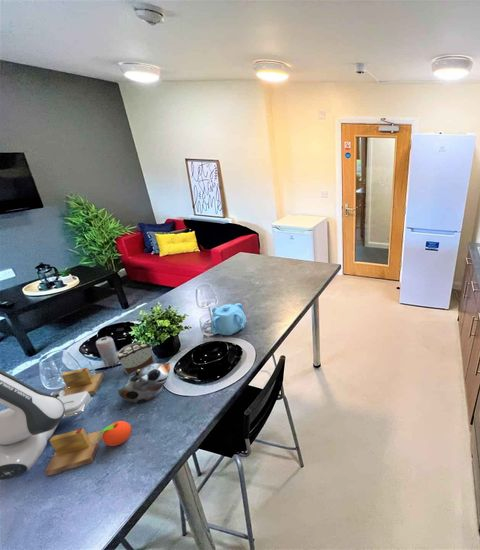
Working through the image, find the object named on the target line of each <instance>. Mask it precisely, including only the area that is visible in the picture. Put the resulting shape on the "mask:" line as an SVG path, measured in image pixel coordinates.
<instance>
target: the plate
mask: <svg viewBox="0 0 480 550" xmlns="http://www.w3.org/2000/svg"><path fill="white" fill-rule="evenodd" d="M91 376H92V378H93V380H94V381H93V383H92V384H88V385H84V386H79V387H75V388H70V389H68V388H67V386H66V385H65V386H64V387H63V388H61V390H64V392H65V394H64V396H67V395H71V394H76V393H80V392H84V391H87V392H88V393H89V394H90V396H94V395H95V396H96V393H97V392H98V390H99V388H100V385H101V383H102V381H103V379H104V378H105V375H104V373H103V372H99V373H94V374H91ZM61 390H60V391H61Z"/></svg>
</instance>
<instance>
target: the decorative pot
mask: <svg viewBox="0 0 480 550" xmlns="http://www.w3.org/2000/svg"><path fill="white" fill-rule="evenodd" d="M243 307H244V306H243V304H242V303H240V302H237V303H234V304H232V303H231V304H230V303H227V304H223V305H222V306H214V307H213V308H212V310H211V312H212V316H211V320H210V329H211V333H212V334H213V335H217V334H219V335H222V336H233V335H234V334H236V333H237V332H239V331H240V330H243V329H245V325H246V323H247V317H246V314H245V313H244V311H243Z"/></svg>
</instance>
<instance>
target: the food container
mask: <svg viewBox="0 0 480 550" xmlns="http://www.w3.org/2000/svg"><path fill="white" fill-rule="evenodd" d="M139 342H140V341H135V342H132V343H130V344H127V345H125V346H123V347H122V348H121V349H119V350H118V353H117V356H116V359H117V362H118V360H119V361H120V363H119V364H120V365H121V367H122V369H123V370H124V372H125V374H126V375H127V376H131V375H132V374H135V372H136V371H137V370H138V369H140V370H141V371H142V370H143V369H144V368H146V367H148V366H150V365H152V364H155V361H154V355H153V348H152V347H154V345H153V344H152V343H151V344H140V343H139Z"/></svg>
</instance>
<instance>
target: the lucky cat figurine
mask: <svg viewBox="0 0 480 550" xmlns="http://www.w3.org/2000/svg"><path fill="white" fill-rule="evenodd" d="M170 371H171V362H169V361H167V362H165V363H156V362H154V363H153V364H151V365H149V366H147V367H145V368H143V369H141V370H140V369H138V370H137V371H136V372H134V375H133V376H130V377H129V378H128V379H127V380H126V382H125V384H124V385H123V387H122V388H120V389H117V390H118V391H117V394H118V395H119V397H121V399H123V400H126V401H127V402H129V403H134V404H139V403H141V402H143V403H146V402H149V401H150V400H152V399H153V398H155V397H156V396H158V395H159V394H160V393H162V389H163V386H164V384H165V383H166V382H167V381H168V379H169V373H170Z"/></svg>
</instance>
